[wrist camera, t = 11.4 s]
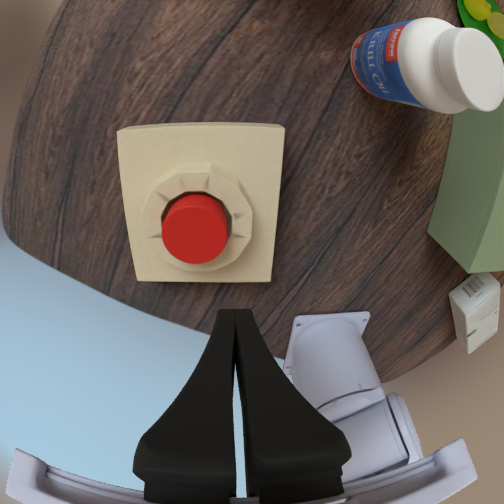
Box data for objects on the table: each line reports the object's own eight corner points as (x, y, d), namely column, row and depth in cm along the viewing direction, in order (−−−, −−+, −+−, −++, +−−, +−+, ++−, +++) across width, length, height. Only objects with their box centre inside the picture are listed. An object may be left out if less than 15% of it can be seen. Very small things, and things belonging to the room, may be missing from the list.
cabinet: (516, 116, 16) (562, 135, 10) (486, 235, 23) (523, 269, 18) (456, 82, 15) (515, 93, 9) (426, 231, 22) (467, 273, 17)
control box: (267, 265, 23) (273, 298, 20) (144, 264, 22) (131, 296, 19) (279, 124, 17) (291, 132, 14) (128, 126, 16) (104, 136, 13)
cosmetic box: (501, 284, 22) (500, 332, 27) (480, 262, 26) (485, 312, 31) (463, 317, 24) (469, 357, 29) (444, 292, 27) (455, 336, 33)
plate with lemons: (500, 4, 9) (518, 4, 7) (507, 70, 13) (527, 74, 11) (446, -30, 9) (465, -35, 6) (457, 43, 13) (479, 43, 11)
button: (226, 248, 18) (227, 264, 16) (169, 248, 17) (164, 264, 16) (227, 193, 16) (227, 205, 14) (164, 194, 15) (158, 206, 14)
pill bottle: (340, 30, 14) (427, -2, 5) (405, 32, 13) (503, 23, 5) (355, 103, 16) (450, 127, 8) (416, 99, 16) (516, 126, 8)
